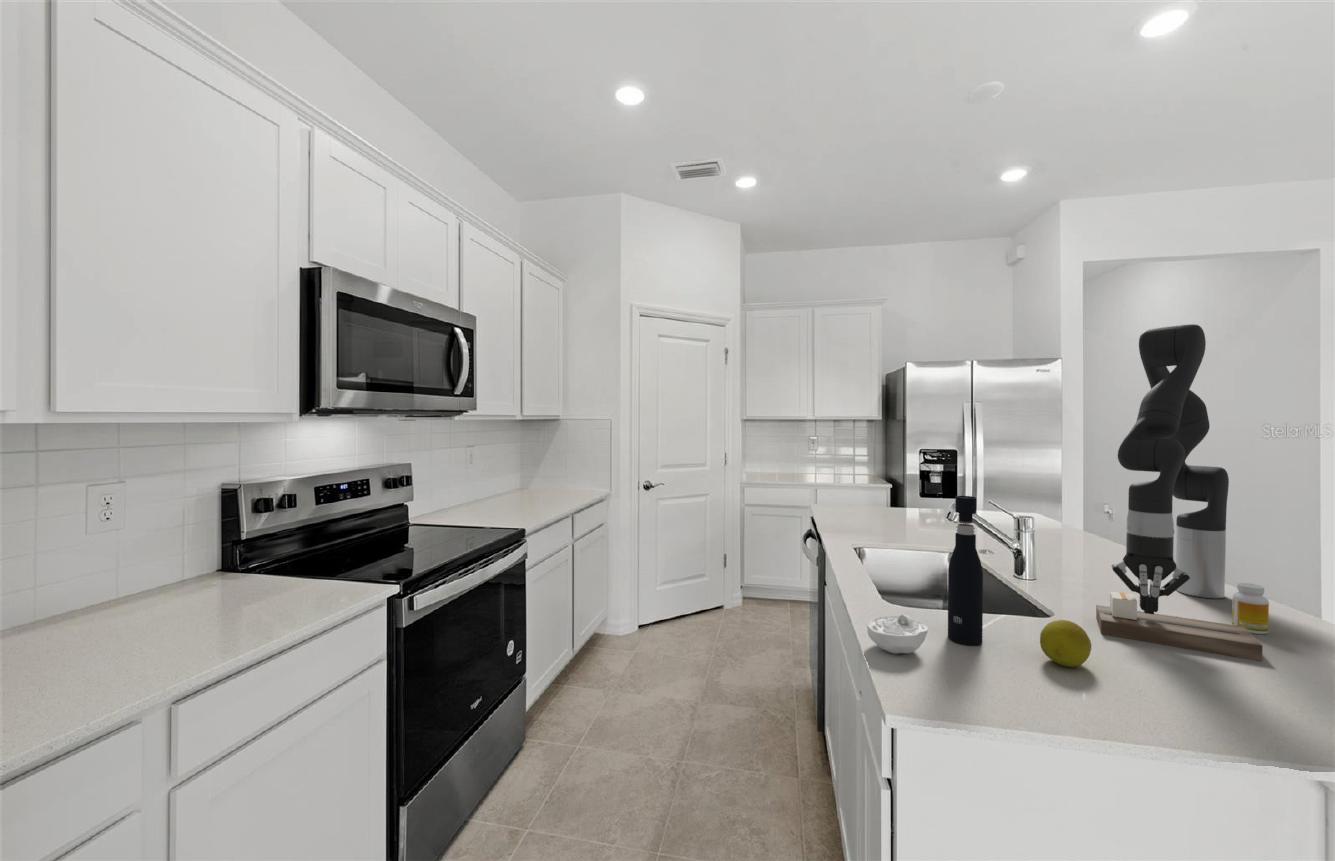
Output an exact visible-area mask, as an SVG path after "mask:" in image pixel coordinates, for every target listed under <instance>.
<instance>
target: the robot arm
mask: <svg viewBox="0 0 1335 861" xmlns="http://www.w3.org/2000/svg"><path fill="white" fill-rule="evenodd" d="M1206 343H1207V342H1206V336H1205V331H1204V329H1203V328H1202V327H1201V326H1200V325H1198V324H1194V323H1192V324H1190V323H1189V324H1180V325H1172V326H1171V325H1169V326H1163V327H1155V328H1149V329H1146V330H1144V331H1142V333H1141V334H1140V335H1139V338H1138V348H1139V349H1138V351H1139V355H1140V356H1139V357H1140V359H1141V360H1140V361H1141V364H1142V365H1143V369H1144V372H1145V374H1146V375H1145V376H1146V377H1147V380H1148V383H1149V386H1150V390H1149V391H1147V393H1146V394H1145V395H1144V396H1143V398H1142V400H1141V403H1140V407H1139V410H1138V412H1137V413H1138V414H1137V418H1136V422H1135V423H1134V425H1133V427H1132V428H1131V430H1130V431H1129V432H1128V433H1127V435H1126V436H1125V437H1124V438H1123V440H1122V442H1121V444H1120V445H1119V447H1118V450H1117V460H1118V463H1119V464H1120V466H1121V467H1122V468H1124V469H1126V470H1128V471H1134V472H1135V471H1136V472H1150V473H1151V472H1152V473H1159V476H1158V477H1157V478H1156V479H1154V480H1150V481H1139V482H1134V483H1131V484H1130V485H1129V487H1128V505H1127V506H1128V509H1127V510H1128V511H1127V512H1128V513H1127V516H1126V537H1125V538H1126V544H1125V545H1126V548H1125V551H1126V552H1125V553H1126V554H1125V555H1124V556H1123V558H1122V561H1121V562H1119V563H1117V564H1112V565H1111V566H1110V567H1111V569H1112V571H1113V572H1114V574H1115V575H1116V576H1118V578H1119V579H1120V581H1122V582H1123V583H1124V584H1125V586H1127V588H1128V590H1130V591H1131V592H1134V593H1137V594H1139V608H1140V609H1141V610H1142V611H1143V612H1144V613H1147V614H1155V613H1158V611H1159V598H1160V597H1169V596H1170V595H1172V594H1173V593H1174V592H1179V593H1182V594H1185V595H1188V596H1193V597H1199V598H1205V599H1224V598H1225V592H1226V588H1225V586H1226V585H1225V584H1226V554H1227V553H1226V551H1227V550H1226V548H1227V547H1226V545H1227V542H1226V541H1227V539H1226V538H1227V533H1226V532H1227V506H1228V505H1227V504H1228V494H1229V486H1230V485H1229V484H1230V483H1229V482H1230V481H1229V474H1228V472H1227V470H1226V469H1225V468H1223V467H1220V466H1204V465H1188V463H1186V460H1187V458H1188V456H1189V455H1190V454H1191V452H1192V451H1193V450H1194V449H1195V448H1196V447H1198V446H1199V444H1200V443H1201V442H1202V441H1203V440H1204V439H1205V437H1206V436H1207V434H1208V433H1209V430H1210V425H1211V424H1210V420H1209V419H1210V418H1209V415H1208V408H1207V405H1206V403H1205V401H1203V399H1201V397H1200V396H1199V395H1198V394H1196V393H1195V392H1194V391H1192V390H1191V387H1192V384H1193V382H1194V380H1195V378H1196V376H1197V373H1198V371H1199V369H1200V366H1201V364H1202V361H1203V359H1204V356H1205V353H1206V352H1205V351H1206V345H1207V344H1206ZM1168 367H1174V368H1173V370H1172V371H1170V370H1169V369H1168ZM1173 497H1174V498H1175V499H1178V500H1183V501H1193V502H1202V503H1203V502H1204V503H1207V505H1206V507H1205V508H1203V509H1200V510H1198V511H1197V510H1196V511H1192V512H1185V513H1180V514H1178V515H1177V516H1176V520H1175V521H1176V526H1175V524H1174V518H1173ZM1175 528H1176V530H1175ZM1175 531H1176V532H1175ZM1175 533H1176V542H1174V539H1175V538H1174V537H1175V536H1174V535H1175ZM1174 543H1176V544H1175V560H1174ZM1126 567H1127V568H1128V570H1130V572H1131V573H1132V575H1134V577H1136V578H1137V582H1138V584H1135V583H1134V582H1133V581H1132V580H1131V578H1129V576H1128V575H1127V573H1128V570H1127V568H1126ZM1170 575H1171V577H1172V578H1171V579H1170V580H1169V581H1167V582H1166V583H1165V584H1164V585H1163V586H1161V585H1162V581H1164V580H1166V578H1168V577H1169V576H1170ZM1148 580H1149V583H1148ZM1148 587H1149V588H1148Z"/></svg>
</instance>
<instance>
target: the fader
mask: <svg viewBox="0 0 1335 861" xmlns="http://www.w3.org/2000/svg"><path fill="white" fill-rule="evenodd" d="M1109 607H1110V611H1111V613H1112V616H1114V617H1121V618H1127V619H1134V620H1137V611H1138V600H1137V599H1136V597H1135V595H1134V594H1131V593H1125V592H1122V591H1119V592H1116V591H1115V592H1114V591H1110V592H1109Z"/></svg>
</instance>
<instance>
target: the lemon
mask: <svg viewBox="0 0 1335 861" xmlns="http://www.w3.org/2000/svg"><path fill="white" fill-rule="evenodd" d="M1039 645H1040V648H1041V650H1042V652H1043V654H1044V655H1045V656H1047V657H1048V659H1050V660H1051V661H1053V662H1054V663H1056V664H1058V665H1059V666H1062V667H1066V668H1073V667H1074V668H1075V667H1079V666H1081V665H1083V664H1084V663H1085V662H1086V661H1088V658H1089V657H1090V655H1091V652H1092V642H1091V639H1090V637H1089V634H1087V632H1086V630H1085V629H1084V628H1082V626H1080V625H1078V624H1077V623H1076V622H1074V621H1071V620H1065V619H1057V620H1052V621H1051V622H1049V623H1047V624H1046V625H1045V626H1044V627H1043V628H1042V630H1041V632H1040V635H1039Z"/></svg>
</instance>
